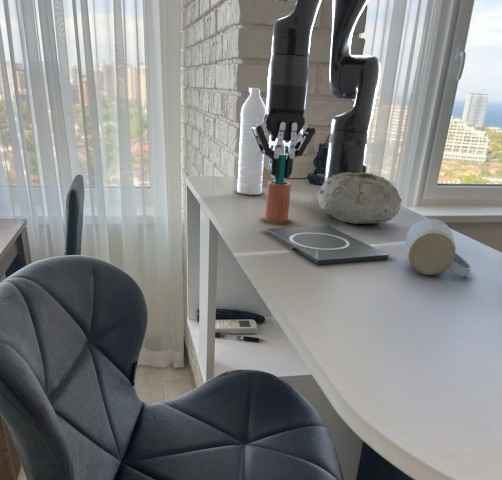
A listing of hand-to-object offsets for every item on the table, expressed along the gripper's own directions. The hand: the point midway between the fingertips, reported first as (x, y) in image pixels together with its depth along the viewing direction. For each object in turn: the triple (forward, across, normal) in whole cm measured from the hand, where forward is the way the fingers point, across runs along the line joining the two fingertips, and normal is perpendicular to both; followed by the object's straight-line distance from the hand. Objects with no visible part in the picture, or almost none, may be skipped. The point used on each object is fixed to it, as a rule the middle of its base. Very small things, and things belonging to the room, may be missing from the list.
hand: (279, 177), depth 103 cm
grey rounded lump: (+9, +18, -3) cm, 20 cm away
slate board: (+9, +1, -18) cm, 20 cm away
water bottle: (+9, +7, +31) cm, 33 cm away
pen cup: (+9, 0, 0) cm, 9 cm away
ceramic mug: (+9, +12, -35) cm, 38 cm away
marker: (+9, 0, 0) cm, 9 cm away
